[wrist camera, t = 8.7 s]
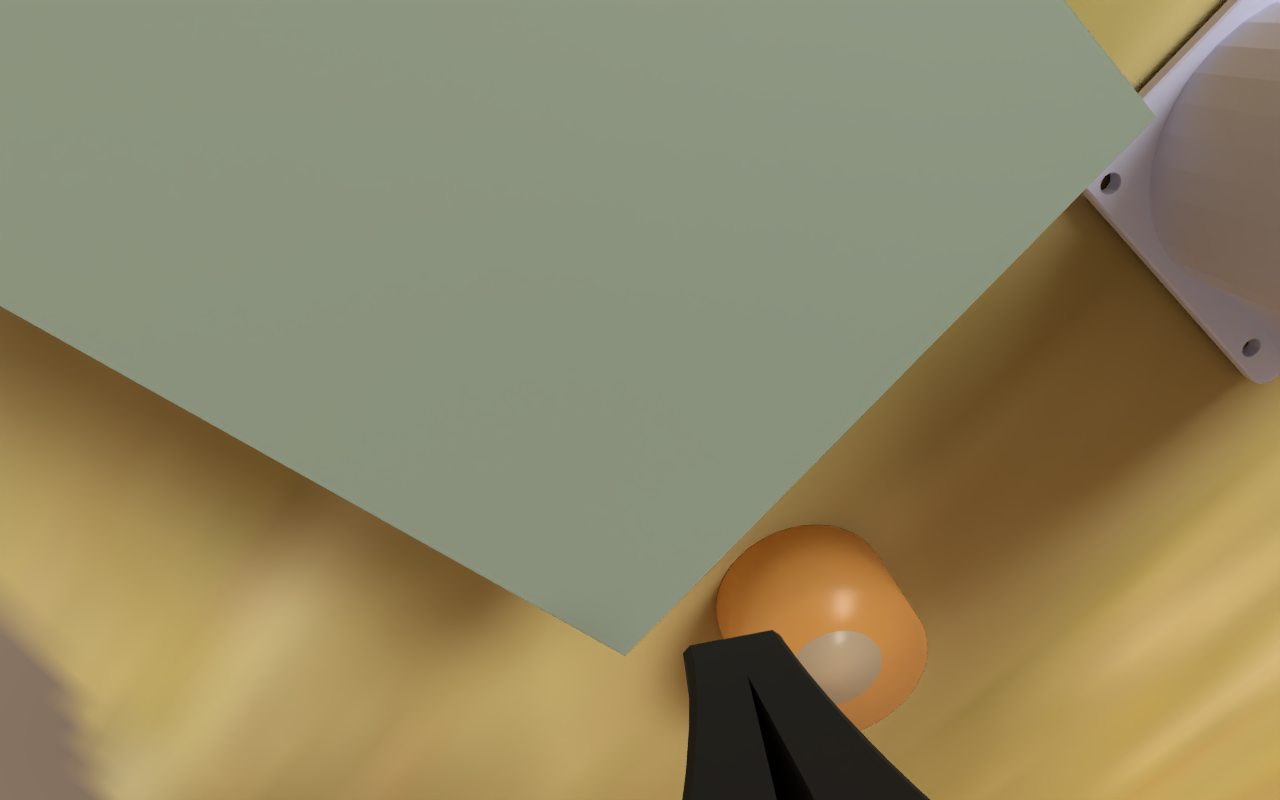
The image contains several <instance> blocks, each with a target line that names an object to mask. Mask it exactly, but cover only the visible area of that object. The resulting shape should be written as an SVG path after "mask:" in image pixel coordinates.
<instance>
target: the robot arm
mask: <svg viewBox="0 0 1280 800" xmlns="http://www.w3.org/2000/svg"><path fill="white" fill-rule="evenodd" d="M1138 94H1139V96H1140V97H1141V98H1142V99H1143V101H1144V102H1145V103H1146V104H1147V106H1148V107H1149V108H1150V110H1151V111H1152V112H1153V113H1154V115H1155V116H1156V118H1155V119H1154V120H1153V121H1152V122H1151V123H1150V124H1149V125H1148V126H1147V127H1146V128H1145V129H1144V130H1143V131H1142V132H1141V133H1140V134H1139V135H1138V136H1137V137H1136V138H1135V139H1134V140H1133V141H1132V143H1131V144H1130V145H1129V146H1128V147H1127V148H1126V149H1125V150H1124V151H1123V152H1122V153H1121V154H1120V155H1119V156H1118V157H1117V158H1116V159H1115V160H1114V161H1113V162H1112V163H1111V164H1110V165H1109V166H1108V167H1107V168H1106V169H1105V170H1104V171H1103V172H1102V173H1101V174H1100V175H1099V176H1098V177H1097V178H1096V179H1095V180H1094V181H1093V182H1092V183H1091V184H1090V185H1089V186H1088V187H1087V188H1086V189H1085V190H1084V191H1083V192H1082V193H1083V194H1084V196H1085V197H1086V198H1087V199H1088V200H1089V201H1090V202H1091V204H1092V205H1093V206H1094V207H1095V208H1096V209H1097V210H1098V211H1099V213H1100V214H1101V215H1102V216H1103V217H1104V218H1105V219H1106V220H1107V222H1108V223H1109V224H1110V225H1111V226H1112V227H1113V228H1114V230H1115V231H1116V232H1117V233H1118V234H1119V235H1120V236H1121V237H1122V239H1123V240H1124V241H1125V242H1126V243H1127V244H1128V245H1129V247H1130V248H1131V249H1132V250H1133V251H1134V252H1135V253H1136V254H1137V256H1138V257H1139V258H1140V259H1141V260H1142V261H1143V262H1144V263H1145V265H1146V266H1147V267H1148V268H1149V269H1150V270H1151V271H1152V273H1153V274H1154V275H1155V276H1156V277H1157V278H1158V279H1159V280H1160V282H1161V283H1162V284H1163V285H1164V286H1165V287H1166V288H1167V290H1168V291H1169V292H1170V293H1171V294H1172V295H1173V296H1174V297H1175V299H1176V300H1177V301H1178V302H1179V303H1180V304H1181V305H1182V306H1183V308H1184V309H1185V310H1186V311H1187V312H1188V313H1189V314H1190V316H1191V317H1192V318H1193V319H1194V320H1195V321H1196V322H1197V323H1198V325H1199V326H1200V327H1201V328H1202V329H1203V330H1204V331H1205V333H1206V334H1207V335H1208V336H1209V337H1210V338H1211V339H1212V340H1213V342H1214V343H1215V344H1216V345H1217V346H1218V347H1219V348H1220V349H1221V351H1222V352H1223V353H1224V354H1225V355H1226V356H1227V357H1228V359H1229V360H1230V361H1231V362H1232V363H1233V364H1234V365H1235V366H1236V368H1237V369H1238V370H1239V371H1240V372H1241V373H1242V374H1243V376H1244V377H1246V378H1248V379H1249V380H1251V381H1253V382H1255V383H1257V384H1265V383H1268V382H1271V381H1272V380H1274V379H1275V378H1277V377H1278V376H1279V375H1280V0H1228V1H1227V2H1226V3H1225V4H1224V5H1223V6H1222V7H1221V8H1220V9H1219V10H1218V11H1217V12H1216V13H1215V14H1214V15H1213V16H1212V17H1211V18H1210V19H1209V20H1208V21H1207V22H1206V23H1205V24H1204V25H1203V26H1202V27H1201V28H1200V30H1199V31H1198V32H1197V33H1196V34H1195V35H1194V36H1193V37H1192V38H1191V39H1190V40H1189V41H1188V42H1187V43H1186V44H1185V45H1184V46H1183V47H1182V48H1181V49H1180V50H1179V51H1178V52H1177V53H1176V54H1175V55H1174V56H1173V57H1172V58H1171V59H1170V61H1169V62H1168V63H1167V64H1166V65H1165V66H1164V67H1163V68H1162V69H1161V70H1160V71H1159V72H1158V73H1157V74H1156V75H1155V76H1154V77H1153V78H1152V79H1151V80H1150V81H1149V82H1148V83H1147V84H1146V85H1145V86H1144V87H1143V88H1142V89H1141V90H1140V91H1139V93H1138ZM1109 173H1110V176H1111V179H1110V183H1109V184H1108V186H1107V187H1106V188H1105V189H1103V190H1102V191H1101V189H1100V185H1101V181H1102V180H1103V178H1104V177H1105V176H1106V175H1108V174H1109ZM1248 341H1249V343H1248V345H1247V346H1246V347H1245V348H1244V349H1243V347H1244V345H1245V344H1246V343H1247V342H1248ZM683 656H684V664H685V671H686V678H687V685H688V693H689V736H688V751H687V766H686V776H685V785H684V792H683V799H682V800H930V799H929V798H928V797H926V796H925V795H924V794H923V793H922V792H921V791H920V790H919V789H918V788H917V787H916V786H915V785H913V784H912V783H911V782H910V781H909V780H908V779H907V778H906V777H905V776H904V775H903V774H902V773H901V772H900V771H899V770H898V769H897V768H896V767H895V766H894V765H893V764H892V763H890V762H889V761H888V760H887V759H886V758H885V757H884V755H883V754H882V753H881V752H880V751H879V750H878V749H877V748H876V747H875V746H874V745H873V744H872V743H871V742H870V741H869V740H868V739H867V738H866V737H865V736H864V735H863V734H862V733H861V732H860V731H859V729H858V728H857V727H856V726H855V725H854V724H853V723H852V722H851V721H850V720H849V719H848V718H847V717H846V716H845V715H844V713H843V712H842V711H841V710H840V709H839V708H838V707H837V706H836V705H835V703H834V702H833V701H832V700H831V699H830V698H829V697H828V695H827V694H826V693H825V692H824V691H823V690H822V688H821V687H820V686H819V685H818V684H817V682H816V681H815V680H814V679H813V678H812V676H811V675H810V674H809V673H808V672H807V670H806V669H805V668H804V667H803V665H802V664H801V663H800V661H799V660H798V659H797V658H796V656H795V655H794V654H793V652H792V651H791V650H790V648H789V647H788V646H787V644H786V643H785V641H784V640H783V638H782V637H781V636H780V635H779V634H778V633H776V632H775V631H773V630H769V631H764V632H759V633H753V634H748V635H743V636H738V637H733V638H727V639H722V640H717V641H712V642H707V643H701V644H696V645H691V646H689V647H688V648H687V650H686V651H685V652H684V653H683Z"/></svg>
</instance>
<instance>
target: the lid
mask: <svg viewBox="0 0 1280 800" xmlns="http://www.w3.org/2000/svg"><path fill="white" fill-rule="evenodd" d="M1155 118H1156V116H1155V115H1154V113H1153V112H1152V111H1151V110H1150V108H1149V107H1148V106H1147V104H1146V103H1145V102H1144V101H1143V99H1142V98H1141V97H1140V96H1139V94H1138V93H1137V92H1136V91H1135V89H1134V88H1133V87H1132V85H1131V84H1130V83H1129V82H1128V80H1127V79H1126V78H1125V77H1124V75H1123V74H1122V73H1121V72H1120V70H1119V69H1118V68H1117V66H1116V65H1115V64H1114V63H1113V61H1112V60H1111V59H1110V58H1109V56H1108V55H1107V54H1106V53H1105V51H1104V50H1103V49H1102V47H1101V46H1100V45H1099V44H1098V42H1097V41H1096V40H1095V39H1094V37H1093V36H1092V35H1091V34H1090V32H1089V31H1088V30H1087V28H1086V27H1085V26H1084V25H1083V23H1082V22H1081V21H1080V20H1079V18H1078V17H1077V16H1076V15H1075V13H1074V12H1073V11H1072V9H1071V8H1070V7H1069V6H1068V4H1067V3H1066V2H1065V1H1064V0H0V306H1V307H3V308H4V309H6V310H8V311H10V312H11V313H13V314H15V315H17V316H19V317H20V318H22V319H24V320H26V321H28V322H29V323H31V324H33V325H35V326H36V327H38V328H40V329H42V330H44V331H45V332H47V333H49V334H51V335H53V336H54V337H56V338H58V339H60V340H61V341H63V342H65V343H67V344H69V345H70V346H72V347H74V348H76V349H78V350H79V351H81V352H83V353H85V354H86V355H88V356H90V357H92V358H94V359H95V360H97V361H99V362H101V363H103V364H104V365H106V366H108V367H110V368H111V369H113V370H115V371H117V372H119V373H120V374H122V375H124V376H126V377H128V378H129V379H131V380H133V381H135V382H136V383H138V384H140V385H142V386H144V387H145V388H147V389H149V390H151V391H153V392H154V393H156V394H158V395H160V396H161V397H163V398H165V399H167V400H169V401H170V402H172V403H174V404H176V405H178V406H179V407H181V408H183V409H185V410H186V411H188V412H190V413H192V414H194V415H195V416H197V417H199V418H201V419H203V420H204V421H206V422H208V423H210V424H211V425H213V426H215V427H217V428H219V429H220V430H222V431H224V432H226V433H228V434H229V435H231V436H233V437H235V438H236V439H238V440H240V441H242V442H244V443H245V444H247V445H249V446H251V447H253V448H254V449H256V450H258V451H260V452H261V453H263V454H265V455H267V456H269V457H270V458H272V459H274V460H276V461H278V462H279V463H281V464H283V465H285V466H286V467H288V468H290V469H292V470H294V471H295V472H297V473H299V474H301V475H303V476H304V477H306V478H308V479H310V480H311V481H313V482H315V483H317V484H319V485H320V486H322V487H324V488H326V489H328V490H329V491H331V492H333V493H335V494H336V495H338V496H340V497H342V498H344V499H345V500H347V501H349V502H351V503H353V504H354V505H356V506H358V507H360V508H361V509H363V510H365V511H367V512H369V513H370V514H372V515H374V516H376V517H378V518H379V519H381V520H383V521H385V522H386V523H388V524H390V525H392V526H394V527H395V528H397V529H399V530H401V531H403V532H404V533H406V534H408V535H410V536H411V537H413V538H415V539H417V540H419V541H420V542H422V543H424V544H426V545H428V546H429V547H431V548H433V549H435V550H436V551H438V552H440V553H442V554H444V555H445V556H447V557H449V558H451V559H453V560H454V561H456V562H458V563H460V564H461V565H463V566H465V567H467V568H469V569H470V570H472V571H474V572H476V573H478V574H479V575H481V576H483V577H485V578H486V579H488V580H490V581H492V582H494V583H495V584H497V585H499V586H501V587H503V588H504V589H506V590H508V591H510V592H511V593H513V594H515V595H517V596H519V597H520V598H522V599H524V600H526V601H528V602H529V603H531V604H533V605H535V606H536V607H538V608H540V609H542V610H544V611H545V612H547V613H549V614H551V615H553V616H554V617H556V618H558V619H560V620H561V621H563V622H565V623H567V624H569V625H570V626H572V627H574V628H576V629H578V630H579V631H581V632H583V633H585V634H586V635H588V636H590V637H592V638H594V639H595V640H597V641H599V642H601V643H603V644H604V645H606V646H608V647H610V648H611V649H613V650H615V651H617V652H619V653H620V654H622V655H624V656H625V655H626V654H627V653H628V652H629V651H630V650H631V649H632V648H633V647H634V646H635V645H636V644H637V643H638V642H639V641H640V640H641V639H642V638H643V637H644V636H645V635H646V634H647V633H648V632H649V631H650V630H651V629H652V628H653V627H654V626H655V625H656V624H657V623H658V622H659V621H660V620H661V619H662V618H663V617H664V616H665V615H666V614H667V613H668V612H669V611H670V610H671V609H672V608H673V607H674V606H675V605H676V604H677V603H678V602H679V601H680V600H681V599H682V598H683V597H684V596H685V595H686V594H687V593H688V592H689V591H690V590H691V589H692V588H693V586H694V585H695V584H696V583H697V582H698V581H699V580H700V579H701V578H702V577H703V576H704V575H705V574H706V573H707V572H708V571H709V570H710V569H711V568H712V567H713V566H714V565H715V564H716V563H717V562H718V561H719V560H720V559H721V558H722V557H723V556H724V555H725V554H726V553H727V552H728V551H729V550H730V549H731V548H732V547H733V546H734V545H735V544H736V543H737V542H738V541H739V540H740V539H741V538H742V537H743V536H744V535H745V534H746V533H747V532H748V531H749V530H750V529H751V528H752V527H753V526H754V525H755V524H756V523H757V522H758V521H759V520H760V519H761V518H762V517H763V516H764V515H765V514H766V512H767V511H768V510H769V509H770V508H771V507H772V506H773V505H774V504H775V503H776V502H777V501H778V500H779V499H780V498H781V497H782V496H783V495H784V494H785V493H786V492H787V491H788V490H789V489H790V488H791V487H792V486H793V485H794V484H795V483H796V482H797V481H798V480H799V479H800V478H801V477H802V476H803V475H804V474H805V473H806V472H807V471H808V470H809V469H810V468H811V467H812V466H813V465H814V464H815V463H816V462H817V461H818V460H819V459H820V458H821V457H822V456H823V455H824V454H825V453H826V452H827V451H828V450H829V449H830V448H831V447H832V446H833V445H834V444H835V443H836V442H837V441H838V440H839V438H840V437H841V436H842V435H843V434H844V433H845V432H846V431H847V430H848V429H849V428H850V427H851V426H852V425H853V424H854V423H855V422H856V421H857V420H858V419H859V418H860V417H861V416H862V415H863V414H864V413H865V412H866V411H867V410H868V409H869V408H870V407H871V406H872V405H873V404H874V403H875V402H876V401H877V400H878V399H879V398H880V397H881V396H882V395H883V394H884V393H885V392H886V391H887V390H888V389H889V388H890V387H891V386H892V385H893V384H894V383H895V382H896V381H897V380H898V379H899V378H900V377H901V376H902V375H903V374H904V373H905V372H906V371H907V370H908V369H909V368H910V367H911V366H912V364H913V363H914V362H915V361H916V360H917V359H918V358H919V357H920V356H921V355H922V354H923V353H924V352H925V351H926V350H927V349H928V348H929V347H930V346H931V345H932V344H933V343H934V342H935V341H936V340H937V339H938V338H939V337H940V336H941V335H942V334H943V333H944V332H945V331H946V330H947V329H948V328H949V327H950V326H951V325H952V324H953V323H954V322H955V321H956V320H957V319H958V318H959V317H960V316H961V315H962V314H963V313H964V312H965V311H966V310H967V309H968V308H969V307H970V306H971V305H972V304H973V303H974V302H975V301H976V300H977V299H978V298H979V297H980V296H981V295H982V294H983V293H984V292H985V290H986V289H987V288H988V287H989V286H990V285H991V284H992V283H993V282H994V281H995V280H996V279H997V278H998V277H999V276H1000V275H1001V274H1002V273H1003V272H1004V271H1005V270H1006V269H1007V268H1008V267H1009V266H1010V265H1011V264H1012V263H1013V262H1014V261H1015V260H1016V259H1017V258H1018V257H1019V256H1020V255H1021V254H1022V253H1023V252H1024V251H1025V250H1026V249H1027V248H1028V247H1029V246H1030V245H1031V244H1032V243H1033V242H1034V241H1035V240H1036V239H1037V238H1038V237H1039V236H1040V235H1041V234H1042V233H1043V232H1044V231H1045V230H1046V229H1047V228H1048V227H1049V226H1050V225H1051V224H1052V223H1053V222H1054V221H1055V220H1056V219H1057V218H1058V217H1059V215H1060V214H1061V213H1062V212H1063V211H1064V210H1065V209H1066V208H1067V207H1068V206H1069V205H1070V204H1071V203H1072V202H1073V201H1074V200H1075V199H1076V198H1077V197H1078V196H1079V195H1080V194H1081V193H1082V192H1083V191H1084V190H1085V189H1086V188H1087V187H1088V186H1089V185H1090V184H1091V183H1092V182H1093V181H1094V180H1095V179H1096V178H1097V177H1098V176H1099V175H1100V174H1101V173H1102V172H1103V171H1104V170H1105V169H1106V168H1107V167H1108V166H1109V165H1110V164H1111V163H1112V162H1113V161H1114V160H1115V159H1116V158H1117V157H1118V156H1119V155H1120V154H1121V153H1122V152H1123V151H1124V150H1125V149H1126V148H1127V147H1128V146H1129V145H1130V144H1131V143H1132V141H1133V140H1134V139H1135V138H1136V137H1137V136H1138V135H1139V134H1140V133H1141V132H1142V131H1143V130H1144V129H1145V128H1146V127H1147V126H1148V125H1149V124H1150V123H1151V122H1152V121H1153V120H1154V119H1155Z"/></svg>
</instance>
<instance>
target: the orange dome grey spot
mask: <svg viewBox="0 0 1280 800" xmlns="http://www.w3.org/2000/svg"><path fill="white" fill-rule="evenodd" d="M716 616H717V621H718V624H719V628H720V631H721V634H722V637H723V639H727V638H733V637H738V636H743V635H748V634H753V633H759V632H764V631H769V630H773V631H775V632H776V633H778V634H779V635H780V636H781V637H782V638H783V640H784V641H785V643H786V644H787V646H788V647H789V648H790V650H791V651H792V652H793V654H794V655H795V656H796V658H797V659H798V660H799V661H800V663H801V664H802V665H803V667H804V668H805V669H806V670H807V672H808V673H809V674H810V675H811V676H812V678H813V679H814V680H815V681H816V682H817V684H818V685H819V686H820V687H821V688H822V690H823V691H824V692H825V693H826V694H827V695H828V697H829V698H830V699H831V700H832V701H833V702H834V703H835V705H836V706H837V707H838V708H839V709H840V710H841V711H842V712H843V713H844V715H845V716H846V717H847V718H848V719H849V720H850V721H851V722H852V723H853V724H854V725H855V726H856V727H857V728H858V729H859V731H860V730H862V729H865V728H867V727H869V726H871V725H873V724H875V723H877V722H878V721H880V720H881V719H883V718H884V717H886V716H888V715H889V714H890V713H891V712H893V711H894V710H895V709H896V708H897V707H898V706H899V705H901V704H902V703H903V702H904V701H905V700H906V698H907V697H908V696H909V695H910V694H911V692H912V691H913V689H914V688H915V686H916V685H917V683H918V682H919V680H920V678H921V675H922V673H923V671H924V668H925V665H926V660H927V654H928V643H927V637H926V633H925V630H924V627H923V625H922V624H921V622H920V620H919V618H918V617H917V615H916V614H915V612H914V611H913V609H912V608H911V606H910V605H909V603H908V602H907V600H906V599H905V597H904V596H903V594H902V592H901V591H900V589H899V588H898V586H897V585H896V583H895V582H894V580H893V579H892V577H891V576H890V574H889V573H888V571H887V570H886V568H885V567H884V565H883V563H882V562H881V560H880V559H879V557H878V556H877V554H876V553H875V551H874V550H873V549H872V548H871V547H870V545H869V544H868V543H866V542H865V541H864V540H863V539H862V538H860V537H859V536H857V535H855V534H854V533H851V532H849V531H847V530H844V529H841V528H837V527H833V526H826V525H806V526H799V527H794V528H789V529H786V530H783V531H780V532H777V533H775V534H772V535H770V536H768V537H766V538H764V539H762V540H761V541H759V542H757V543H756V544H754V545H753V546H752V547H750V548H749V549H747V550H746V551H745V552H744V553H743V554H742V555H741V556H740V557H739V558H738V559H737V560H736V561H735V562H734V563H733V564H732V566H731V567H730V569H729V570H728V572H727V573H726V575H725V577H724V579H723V580H722V582H721V585H720V588H719V591H718V595H717V600H716Z"/></svg>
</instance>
